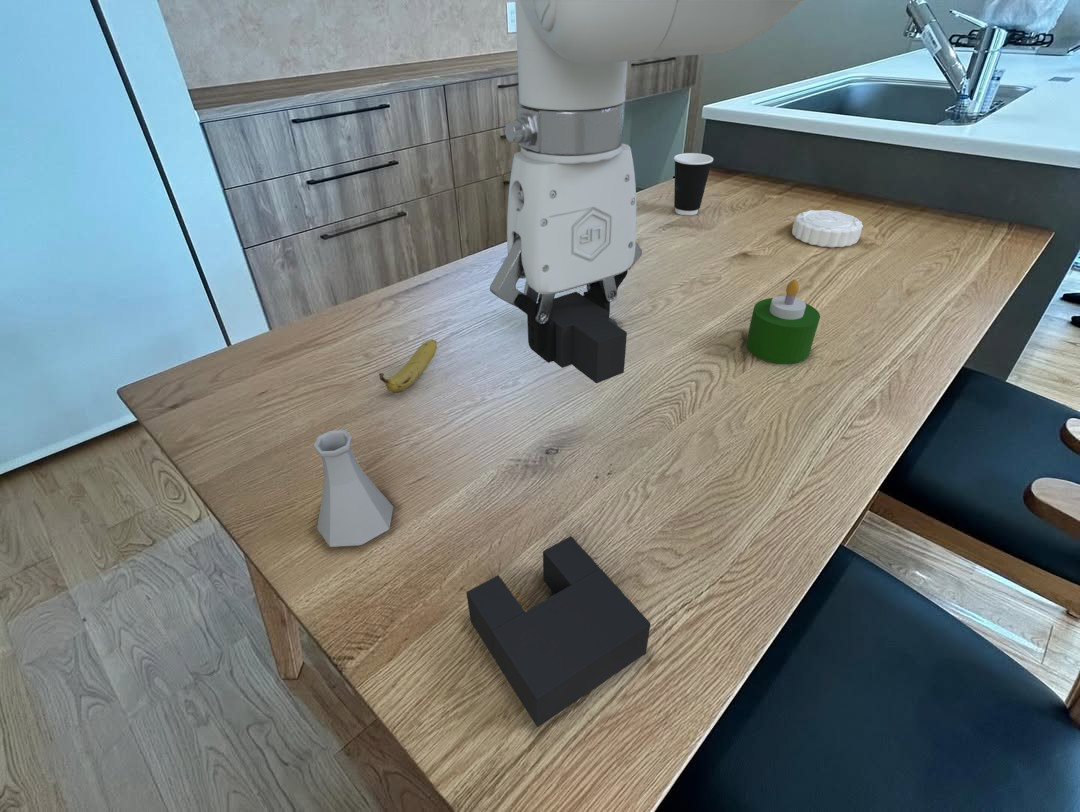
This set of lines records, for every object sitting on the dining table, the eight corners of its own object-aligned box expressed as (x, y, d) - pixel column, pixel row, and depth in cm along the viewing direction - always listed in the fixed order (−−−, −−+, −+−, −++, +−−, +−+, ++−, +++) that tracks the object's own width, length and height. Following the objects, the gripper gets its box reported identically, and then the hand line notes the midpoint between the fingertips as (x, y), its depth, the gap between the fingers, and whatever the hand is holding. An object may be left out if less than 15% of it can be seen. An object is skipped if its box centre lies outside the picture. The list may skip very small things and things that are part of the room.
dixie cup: (713, 213, 125) (721, 158, 118) (685, 220, 122) (692, 165, 115) (687, 203, 130) (694, 150, 124) (660, 210, 127) (665, 156, 121)
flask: (401, 535, 55) (381, 455, 49) (321, 559, 53) (291, 478, 47) (387, 485, 60) (368, 407, 54) (314, 505, 58) (286, 427, 52)
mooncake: (848, 226, 117) (854, 208, 115) (866, 249, 108) (872, 230, 105) (786, 224, 119) (790, 206, 117) (798, 246, 109) (803, 227, 107)
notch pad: (470, 621, 48) (465, 591, 45) (570, 565, 52) (571, 535, 49) (537, 728, 41) (536, 699, 38) (646, 653, 45) (651, 623, 43)
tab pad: (531, 344, 54) (530, 305, 52) (575, 329, 56) (576, 291, 54) (586, 387, 48) (587, 346, 46) (633, 369, 50) (637, 328, 48)
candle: (792, 371, 76) (812, 301, 70) (734, 348, 81) (748, 281, 75) (819, 346, 81) (840, 279, 75) (763, 326, 85) (778, 261, 79)
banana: (431, 361, 79) (427, 335, 77) (444, 366, 78) (441, 340, 76) (377, 399, 73) (371, 372, 70) (392, 404, 72) (386, 377, 69)
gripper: (493, 158, 36) (509, 396, 47) (694, 123, 44) (667, 336, 54) (442, 137, 42) (467, 356, 52) (629, 108, 49) (617, 306, 60)
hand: (569, 344), depth 53 cm, fingers closed on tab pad, 5 cm apart
